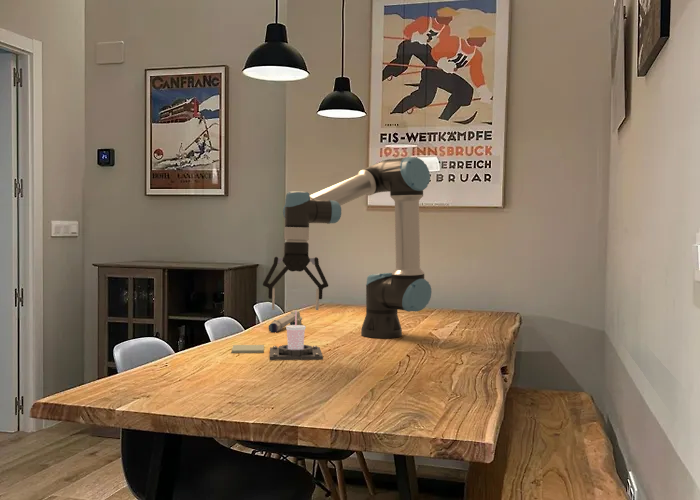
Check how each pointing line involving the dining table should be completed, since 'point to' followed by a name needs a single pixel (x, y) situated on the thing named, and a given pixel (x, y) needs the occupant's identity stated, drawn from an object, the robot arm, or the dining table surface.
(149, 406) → the dining table surface
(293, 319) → the tan tube
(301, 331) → the beverage cup
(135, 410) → the dining table surface
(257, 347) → the pad
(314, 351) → the flange
